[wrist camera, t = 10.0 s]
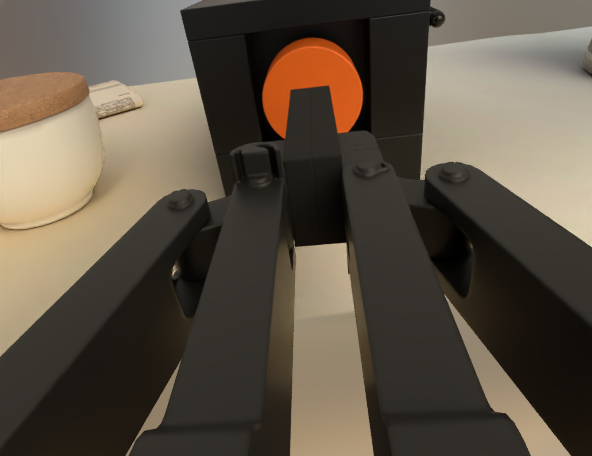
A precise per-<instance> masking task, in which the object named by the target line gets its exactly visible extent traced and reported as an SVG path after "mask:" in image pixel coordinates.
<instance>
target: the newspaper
mask: <svg viewBox="0 0 592 456" xmlns="http://www.w3.org/2000/svg"><path fill="white" fill-rule="evenodd" d="M88 88H89V95H90V98H91V100H92V103H93V105H94V108H95V111H96V114H97V117H98V119H99V118H102V117H106V116H110V115H113V114H117V113H120V112H124V111H127V110H131V109H135V108H138V107H142V106H143V103H142V100H141V98H140V97H139V96H138V95H137V94H136V93H134V92H133V91H132V90H130V89H129V88H128V87H126V86H125V85H124V84H121V83H119V82H117V81H115V80H114V81H110V82H106V83H102V84H98V85H94V86H89V87H88Z"/></svg>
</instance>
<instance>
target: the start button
mask: <svg viewBox="0 0 592 456" xmlns="http://www.w3.org/2000/svg"><path fill="white" fill-rule="evenodd" d="M327 85H329V87H330V92H331V98H332V104H333V109H334V115H335V121H336V126H337V132H338V133H344V132H348V131H349V130H350V129H351V128H352V127H353V125H354V124H355V122H356V120H357V118H358V116H359V114H360V111H361V108H362V102H363V90H362V84H361V80H360V78H359V75H358V73H357V70H356V68H355V66H354V64H353V62H352V60H351V58H350V57H349V56H348V54H347V53H346V52H345V51H344V50H343V49H342V48H340V47H339V46H338V45H336V44H335V43H333V42H331V41H328V40H325V39H321V38H305V39H300V40H297V41H295V42H293V43H291V44H289V45H287V46H286V47H285V48H283V49H282V50H281V51H280V52H279V53H278V54H277V55H276V57H275V58H274V60H273V61H272V63H271V65H270V67H269V70H268V73H267V76H266V80H265V83H264V86H263V93H262V101H263V108H264V112H265V115H266V118H267V120H268V121H269V123H270V125H271V126H272V128H273V129H274V130H275V131H276V132H277V133H278V134H279V135H280V136H281V137H282V138H284V139H285V136H286V127H287V118H288V109H289V100H290V91H291V90H293V89H301V88H310V87H319V86H327Z"/></svg>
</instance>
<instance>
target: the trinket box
mask: <svg viewBox="0 0 592 456" xmlns="http://www.w3.org/2000/svg"><path fill="white" fill-rule="evenodd" d="M103 163H104V145H103V137H102V132H101V128H100V124H99V120H98V117H97V114H96V111H95V108H94V105H93V103H92V100H91V98H90V95H89V88H88V85H87V82H86V80H85V78H84V77H83V76H82V75H81V74H77V73H71V72H52V73H41V74H33V75H26V76H19V77H14V78H7V79H3V80H0V224H1V226H3V227H5V228H7V229H28V228H34V227H39V226H43V225H46V224H49V223H52V222H55V221H58V220H60V219H62V218H65V217H67V216H69V215H71V214H73V213H74V212H76V211H78V210H79V209H81V208H82V207H83V206H84V205H86V204H87V203H88V202H89V201H90V199H91V198H92V196H93V190H92V189H93V188H94V186H95V184H96V183H97V181H98V179H99V176H100V174H101V171H102V167H103Z"/></svg>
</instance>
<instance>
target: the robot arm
mask: <svg viewBox="0 0 592 456" xmlns="http://www.w3.org/2000/svg"><path fill="white" fill-rule="evenodd" d="M583 67H584V69H585V70H586V71H588V72H589V73H591V74H592V40H591V42H590V44H589V46H588V47H587V51H586V55H585V59H584V62H583ZM229 159H230V164H231V168H232V172H233V177H234V181H235V185H234V188H233V192H232V195H230V196H228V197H225V198H222V199H218V200H214V201H211V202H208V201H207V198H206V195H205V193H204V192H202V191H200V190H194V189H190V190H186V189H183V190H179V191H174V192H172V193H171V194H169V195H167V196H165V197H163V198H162V199H161V200H159V201H158V202H157V203H156V204H155V205H154V206H153V207H152V208H151V209H150V210H149V211H148V212H147V213H146V214H145V215H144V216H143V217H142V218H141V219H140V220H139V221H138V222H137V223H136V224H135V225H134V226H133V227H132V228H131V229H130V230H129V231H128V232H127V233H126V234H124V235H123V236H122V237H121V238H120V239H119V240H118V241H117V242H116V243H115V244H114V245H113V246H112V247H111V248H110V249H109V250H108V251H107V252H106V253H105V254H104V255H103V256H102V257H101V258H100V259H99V260H98V261H97V262H96V263H95V264H94V265H93V266H92V267H91V268H90V269H89V270H88V271H87V272H86V273H85V274H84V275H83V276H82V277H81V278H80V279H79V280H78V281H77V282H76V283H75V284H74V285H73V286H72V287H71V288H70V289H69V290H68V291H67V292H66V293H65V294H64V295H63V296H62V297H61V298H59V299H58V300H57V301H56V302H55V303H54V304H53V305H52V306H51V307H50V308H49V309H48V310H47V311H46V312H45V313H44V314H43V315H42V316H41V317H40V318H39V319H38V320H37V321H36V322H35V323H34V324H33V325H32V326H31V327H30V328H29V329H28V330H27V331H26V332H25V333H24V334H23V335H22V336H21V337H20V338H19V339H18V340H17V341H16V342H15V343H14V344H13V345H12V346H11V347H10V348H9V349H8V350H7V351H6V352H5V353H4V354H3V355H2V356H1V357H0V456H125V455H126V454H127V452H128V450H129V448H130V447H131V445H132V443H133V442H134V440H135V438H136V436H137V435H138V433H139V431H140V429H141V428H142V426H143V424H144V422H145V421H146V419H147V417H148V416H149V414H150V412H151V410H152V409H153V407H154V405H155V404H156V402H157V400H158V399H159V397H160V395H161V393H162V392H163V390H164V388H165V386H166V385H167V383H168V381H169V379H170V378H171V376H172V374H173V373H174V371H175V369H176V368H177V366H178V364H179V362H180V361H181V363H180V366H179V370H178V373H177V376H176V379H175V383H174V386H173V389H172V393H171V396H170V399H169V403H168V406H167V409H166V413H165V415H164V418H163V420H162V423H161V424H160V425H159V427H158V428H156V429H152V430H146V431H144V432H143V433H142V434H141V435H140V436H139V438H138V439H137V440H136V441H135V444H134V446H133V448H132V450H131V452H130V454H129V456H290V434H291V433H290V432H291V431H290V430H291V399H292V366H293V365H292V364H293V332H294V329H293V328H294V298H295V264H296V256H295V249H294V241H295V247H299V246H311V245H323V244H335V243H346V244H347V261H348V274H350V279H351V286H352V294H353V302H354V309H355V317H356V324H357V332H358V339H359V347H360V354H361V362H362V369H363V377H364V384H365V392H366V399H367V407H368V414H369V422H370V429H371V436H372V445H373V452H374V456H531V455H530V453H529V451H528V448H527V447H526V444H525V442H524V440H523V438H522V436H521V434H520V432H519V430H518V429H517V427H516V425H515V423H514V422H513V421H512V420H511V419H510V418H509V416H508V415H507V414H506V413H499V412H494V410H493V409H492V408H491V407H490V405H489V403H488V401H487V399H486V397H485V394H484V392H483V390H482V387H481V385H480V382H479V379H478V377H477V375H476V372H475V370H474V367H473V364H472V362H471V359H470V357H469V354H468V352H467V350H466V347H465V345H464V342H463V340H462V337H461V335H460V332H459V330H458V327H457V325H456V322H455V320H454V317H453V315H452V312H451V310H450V307H449V305H448V302H447V300H446V297H447V298H448V299H449V301H450V302H451V303H452V304H453V306H454V307H455V308H456V309H457V311H458V312H459V313H460V315H461V316H462V317H463V318H464V320H465V321H466V322H467V324H468V325H469V326H470V327H471V329H472V330H473V331H474V332H475V334H476V335H477V336H478V338H479V339H480V340H481V341H482V343H483V344H484V345H485V346H486V348H487V349H488V350H489V351H490V353H491V354H492V355H493V356H494V358H495V359H496V360H497V362H498V363H499V364H500V366H501V367H502V368H503V369H504V371H505V372H506V373H507V375H508V376H509V377H510V378H511V380H512V381H513V382H514V383H515V385H516V386H517V387H518V388H519V390H520V391H521V392H522V394H523V395H524V396H525V398H526V399H527V400H528V401H529V403H530V404H531V405H532V406H533V408H534V409H535V410H536V412H537V413H538V414H539V415H540V417H541V418H542V419H543V420H544V422H545V423H546V424H547V425H548V427H549V428H550V429H551V431H552V432H553V433H554V435H555V436H556V437H557V438H558V440H559V441H560V442H561V443H562V445H563V446H564V447H565V449H566V450H567V451H568V452H569V454H570V455H571V456H592V247H591V246H589V245H588V244H586V243H585V242H583V241H582V240H581V239H579V238H578V237H576V236H575V235H573V234H572V233H570V232H569V231H568V230H566V229H565V228H563V227H562V226H560V225H559V224H557V223H556V222H554V221H553V220H552V219H550V218H549V217H547V216H546V215H544V214H543V213H541V212H540V211H539V210H537V209H536V208H534V207H533V206H531V205H530V204H528V203H527V202H526V201H524V200H523V199H521V198H520V197H518V196H517V195H515V194H514V193H513V192H511V191H510V190H508V189H507V188H505V187H504V186H502V185H501V184H499V183H498V182H497V181H495V180H494V179H492V178H491V177H489V176H488V175H486V174H485V173H484V172H482V171H481V170H479V169H477V168H475V167H473V166H471V165H466V164H463V163H460V162H455V163H454V162H448V163H444V164H438V165H435V166H432V167H431V168H429V169H428V170H427V171H426V174H425V180H414V179H405V178H401V177H398V176H397V175H396V173H395V170H394V168H393V167H392V166H391V165H390V164H389V163H387V162H385V161H384V160H383V158H382V155H381V152H380V150H379V147H378V144H377V142H376V139H375V136H374V135H373V134H371V133H369V132H368V131H366V130H363V131H354V132H344V133H338V132H337V126H336V121H335V115H334V109H333V104H332V98H331V92H330V87H329V85H327V86H319V87H310V88H301V89H293V90H291V91H290V100H289V109H288V118H287V127H286V136H285V140H279V141H269V142H255V143H250V144H245V145H243V146H240V147H237V148H236V149H234V150H232V151H231V152H230V154H229ZM174 265H175V267H176V270H177V271H176V272H175V274H174V275H173V276H172V269H173V267H174ZM171 276H172V277H171ZM444 294H445V295H446V297H445V295H444ZM181 359H182V360H181Z"/></svg>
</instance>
